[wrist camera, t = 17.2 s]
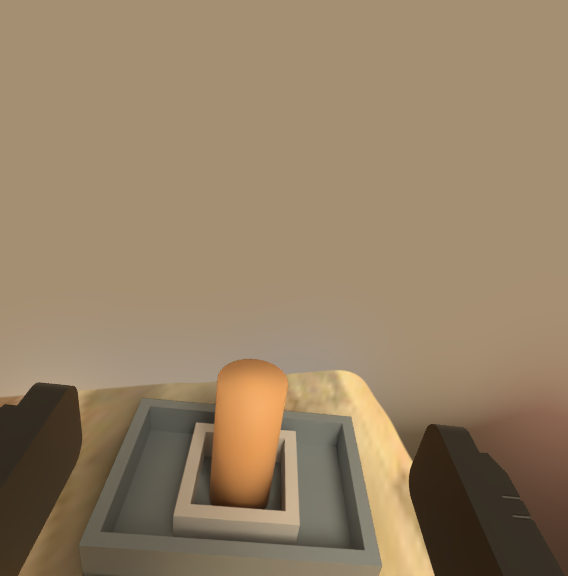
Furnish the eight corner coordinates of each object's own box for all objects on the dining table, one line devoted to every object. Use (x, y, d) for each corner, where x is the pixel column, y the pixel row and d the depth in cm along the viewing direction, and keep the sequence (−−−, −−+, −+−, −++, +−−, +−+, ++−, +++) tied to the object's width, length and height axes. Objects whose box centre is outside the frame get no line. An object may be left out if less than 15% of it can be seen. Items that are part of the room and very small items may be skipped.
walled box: (83, 581, 29) (78, 545, 27) (143, 429, 41) (142, 397, 40) (369, 599, 30) (382, 566, 28) (343, 446, 43) (351, 416, 41)
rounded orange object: (204, 519, 33) (212, 401, 28) (213, 466, 37) (222, 356, 32) (268, 524, 33) (288, 408, 28) (269, 471, 38) (287, 362, 32)
